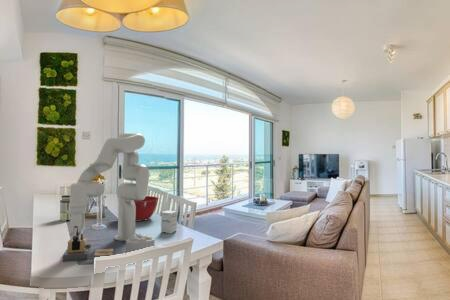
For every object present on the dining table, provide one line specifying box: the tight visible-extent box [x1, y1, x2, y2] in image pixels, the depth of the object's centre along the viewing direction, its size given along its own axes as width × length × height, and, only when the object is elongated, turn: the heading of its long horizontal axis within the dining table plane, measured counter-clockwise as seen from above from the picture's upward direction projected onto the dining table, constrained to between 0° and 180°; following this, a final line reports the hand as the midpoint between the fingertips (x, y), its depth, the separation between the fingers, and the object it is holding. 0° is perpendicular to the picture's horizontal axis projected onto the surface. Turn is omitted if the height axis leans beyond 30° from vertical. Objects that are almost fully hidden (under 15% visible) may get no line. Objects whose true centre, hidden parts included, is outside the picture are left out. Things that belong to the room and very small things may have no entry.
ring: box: [67, 236, 88, 253], centre depth 139 cm, size 7×7×5 cm
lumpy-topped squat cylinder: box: [125, 233, 155, 254], centre depth 144 cm, size 10×13×9 cm
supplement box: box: [160, 209, 178, 234], centre depth 185 cm, size 7×7×13 cm
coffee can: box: [59, 198, 71, 222], centre depth 213 cm, size 10×10×14 cm
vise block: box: [62, 233, 92, 263], centre depth 139 cm, size 12×10×11 cm
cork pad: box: [93, 248, 114, 258], centre depth 144 cm, size 8×8×1 cm
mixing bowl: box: [134, 195, 159, 221], centre depth 217 cm, size 28×28×16 cm
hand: (77, 247), depth 139 cm, fingers closed on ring, 7 cm apart
